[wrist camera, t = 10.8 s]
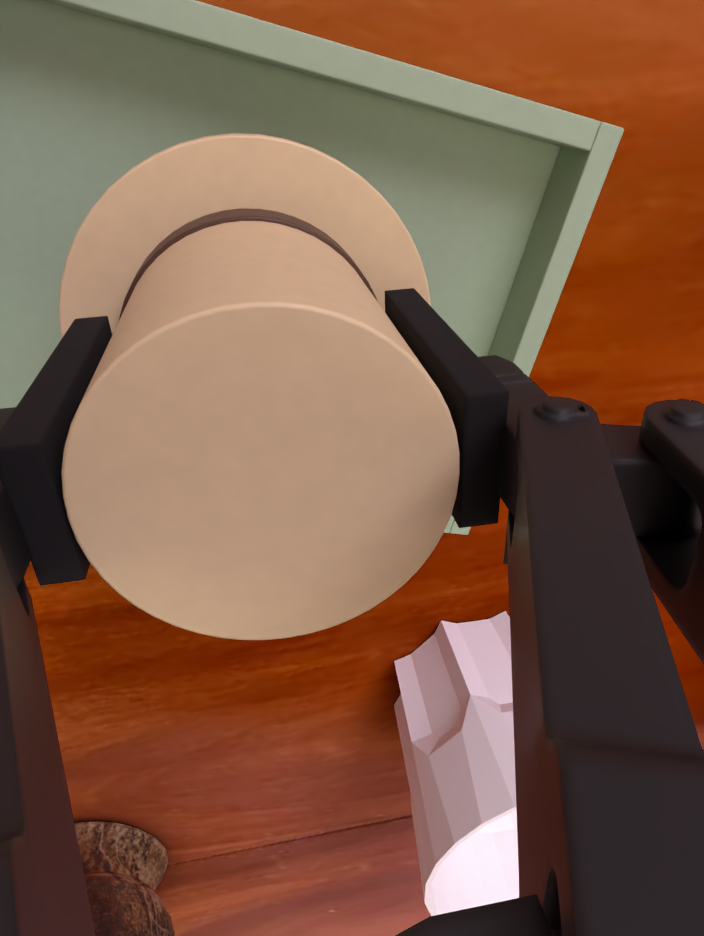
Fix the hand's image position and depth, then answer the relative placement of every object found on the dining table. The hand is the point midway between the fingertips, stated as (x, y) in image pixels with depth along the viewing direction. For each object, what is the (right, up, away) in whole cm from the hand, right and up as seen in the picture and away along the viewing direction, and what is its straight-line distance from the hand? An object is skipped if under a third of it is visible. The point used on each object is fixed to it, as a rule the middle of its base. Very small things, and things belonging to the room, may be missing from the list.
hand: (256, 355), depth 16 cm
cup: (+8, -13, +17) cm, 23 cm away
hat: (0, +1, +2) cm, 2 cm away
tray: (-1, +3, +5) cm, 6 cm away
